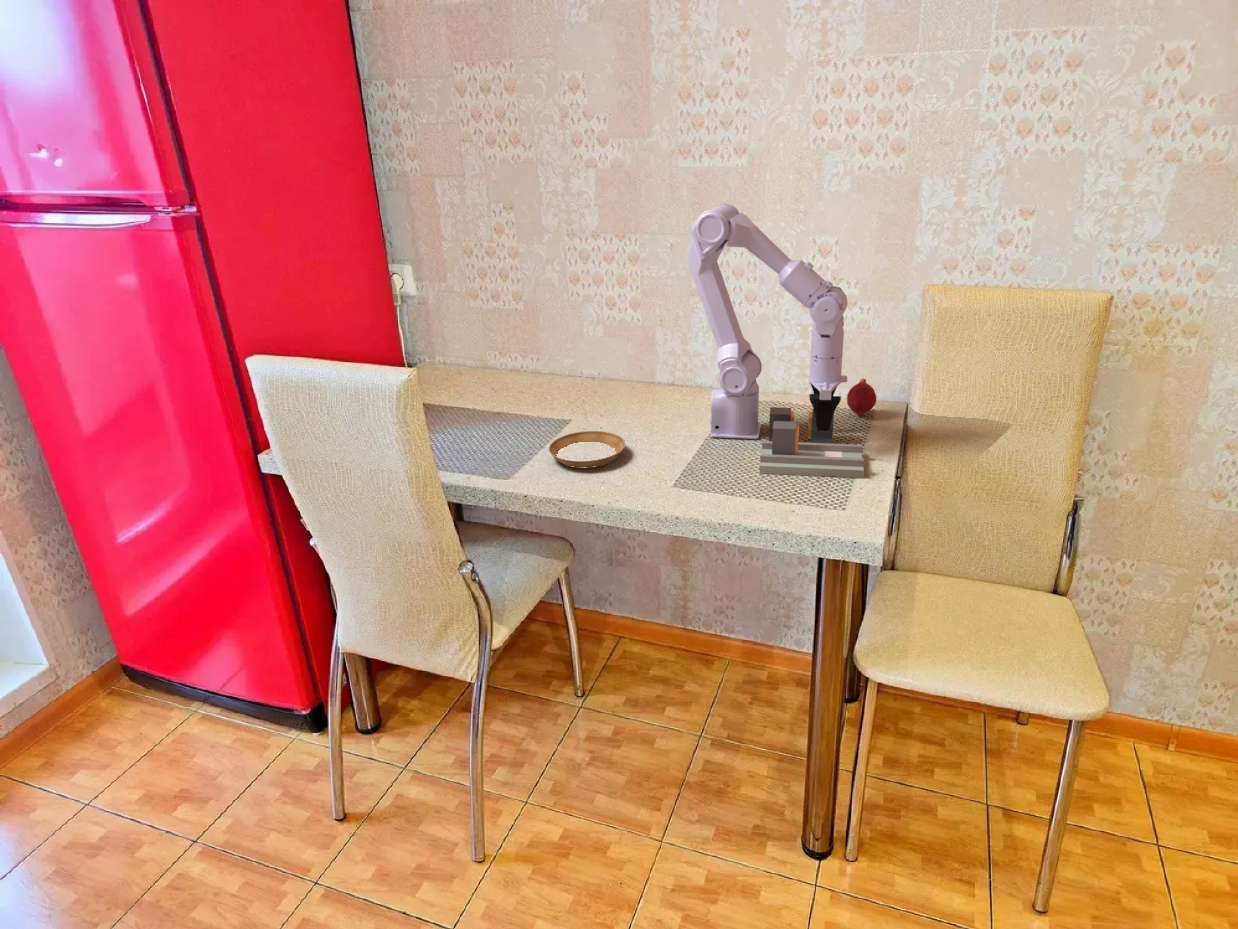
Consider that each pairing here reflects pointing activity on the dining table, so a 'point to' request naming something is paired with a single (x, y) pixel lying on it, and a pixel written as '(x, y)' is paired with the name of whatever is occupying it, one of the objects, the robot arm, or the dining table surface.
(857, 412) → the onion
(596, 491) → the dining table surface
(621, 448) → the plant saucer
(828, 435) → the brushed grey cube
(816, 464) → the rail
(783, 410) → the block
